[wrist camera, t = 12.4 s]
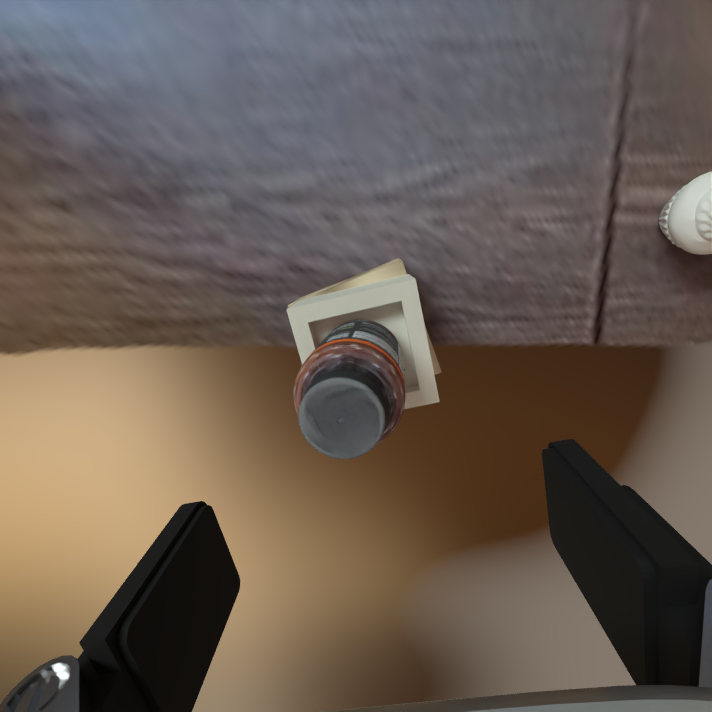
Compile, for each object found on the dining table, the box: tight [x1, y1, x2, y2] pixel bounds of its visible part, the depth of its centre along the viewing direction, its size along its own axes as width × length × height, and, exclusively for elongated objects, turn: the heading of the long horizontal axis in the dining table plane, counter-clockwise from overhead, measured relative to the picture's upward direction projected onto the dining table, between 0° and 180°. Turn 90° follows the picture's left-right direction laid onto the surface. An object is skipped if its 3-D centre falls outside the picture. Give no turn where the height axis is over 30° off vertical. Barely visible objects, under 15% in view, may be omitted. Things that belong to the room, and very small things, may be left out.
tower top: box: [287, 274, 440, 409], centre depth 29 cm, size 9×9×5 cm
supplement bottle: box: [294, 319, 405, 459], centre depth 22 cm, size 6×6×11 cm
